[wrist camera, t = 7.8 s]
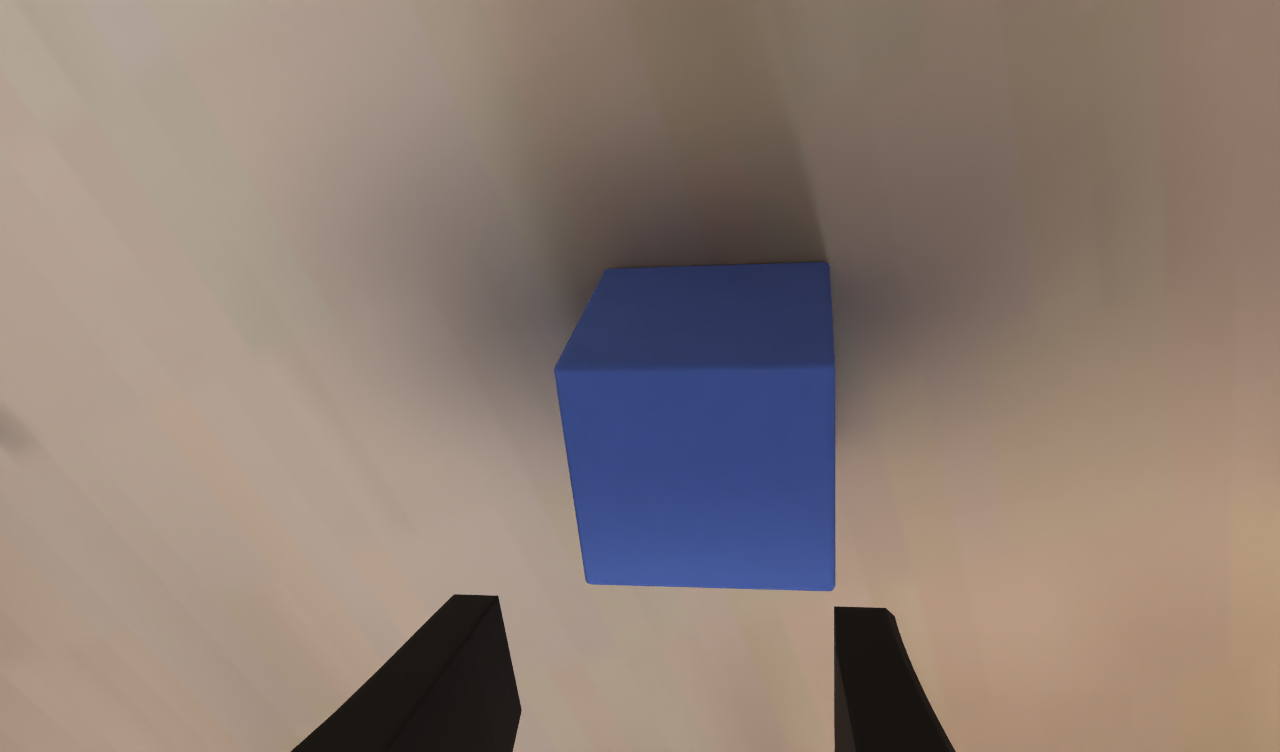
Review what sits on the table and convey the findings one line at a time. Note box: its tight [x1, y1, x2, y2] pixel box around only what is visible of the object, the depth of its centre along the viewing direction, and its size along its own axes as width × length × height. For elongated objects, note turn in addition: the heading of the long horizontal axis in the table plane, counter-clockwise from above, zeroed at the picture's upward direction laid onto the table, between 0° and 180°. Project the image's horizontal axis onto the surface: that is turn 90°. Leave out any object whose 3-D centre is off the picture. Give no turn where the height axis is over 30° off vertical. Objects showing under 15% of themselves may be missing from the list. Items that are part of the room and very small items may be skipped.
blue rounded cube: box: [554, 262, 835, 591], centre depth 18 cm, size 4×4×4 cm
